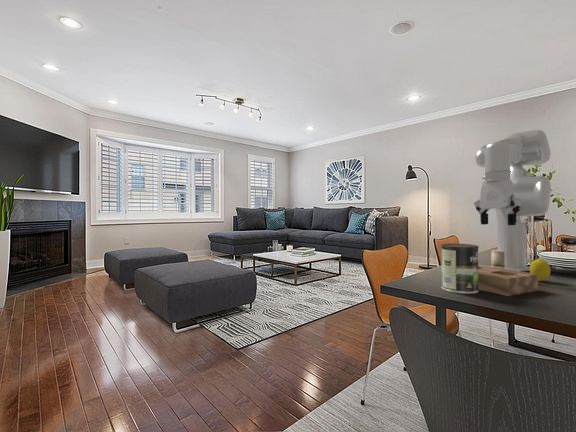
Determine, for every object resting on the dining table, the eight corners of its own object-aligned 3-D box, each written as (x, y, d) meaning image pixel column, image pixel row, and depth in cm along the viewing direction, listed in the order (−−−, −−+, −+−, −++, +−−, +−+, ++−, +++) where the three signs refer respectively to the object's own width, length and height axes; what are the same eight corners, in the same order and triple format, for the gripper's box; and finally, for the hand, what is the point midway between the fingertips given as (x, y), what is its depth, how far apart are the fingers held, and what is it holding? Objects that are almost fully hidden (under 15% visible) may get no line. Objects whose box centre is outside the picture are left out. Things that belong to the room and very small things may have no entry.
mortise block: (470, 276, 113) (470, 260, 113) (537, 290, 92) (537, 271, 92) (443, 280, 108) (443, 263, 108) (507, 296, 87) (507, 275, 87)
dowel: (496, 276, 112) (495, 249, 112) (507, 278, 108) (507, 251, 108) (488, 277, 111) (488, 250, 110) (499, 280, 107) (499, 251, 107)
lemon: (554, 283, 101) (554, 259, 101) (535, 282, 102) (535, 259, 102) (544, 279, 106) (544, 257, 106) (526, 279, 107) (526, 256, 107)
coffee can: (482, 289, 95) (482, 244, 95) (474, 296, 88) (473, 247, 88) (446, 284, 102) (446, 242, 102) (436, 290, 95) (436, 245, 95)
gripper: (467, 179, 115) (468, 224, 116) (516, 174, 99) (516, 226, 100) (481, 180, 118) (481, 223, 118) (530, 175, 102) (530, 225, 102)
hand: (497, 224), depth 109 cm, fingers open, 9 cm apart
